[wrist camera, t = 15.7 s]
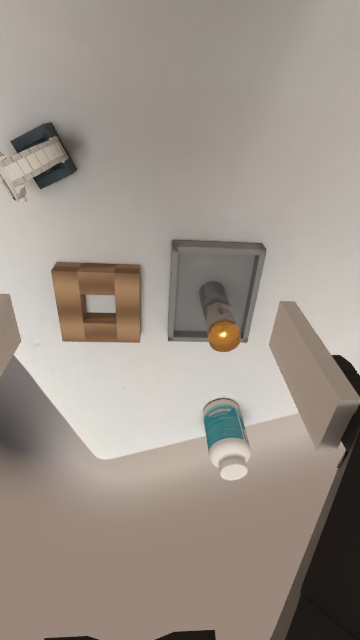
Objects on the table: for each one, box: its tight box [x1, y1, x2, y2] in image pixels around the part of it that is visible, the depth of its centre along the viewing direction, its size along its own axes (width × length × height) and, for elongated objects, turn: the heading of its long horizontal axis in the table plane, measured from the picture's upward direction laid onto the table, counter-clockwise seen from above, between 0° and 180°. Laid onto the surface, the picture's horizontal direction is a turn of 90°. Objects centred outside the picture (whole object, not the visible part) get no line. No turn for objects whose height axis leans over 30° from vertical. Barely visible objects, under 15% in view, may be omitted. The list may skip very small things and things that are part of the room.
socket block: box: [51, 262, 141, 343], centre depth 51 cm, size 12×12×3 cm
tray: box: [168, 240, 266, 342], centre depth 51 cm, size 16×13×2 cm
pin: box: [199, 281, 241, 352], centre depth 46 cm, size 4×4×12 cm
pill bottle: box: [203, 399, 251, 480], centre depth 61 cm, size 8×7×14 cm
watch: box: [0, 123, 77, 203], centre depth 36 cm, size 6×8×11 cm
